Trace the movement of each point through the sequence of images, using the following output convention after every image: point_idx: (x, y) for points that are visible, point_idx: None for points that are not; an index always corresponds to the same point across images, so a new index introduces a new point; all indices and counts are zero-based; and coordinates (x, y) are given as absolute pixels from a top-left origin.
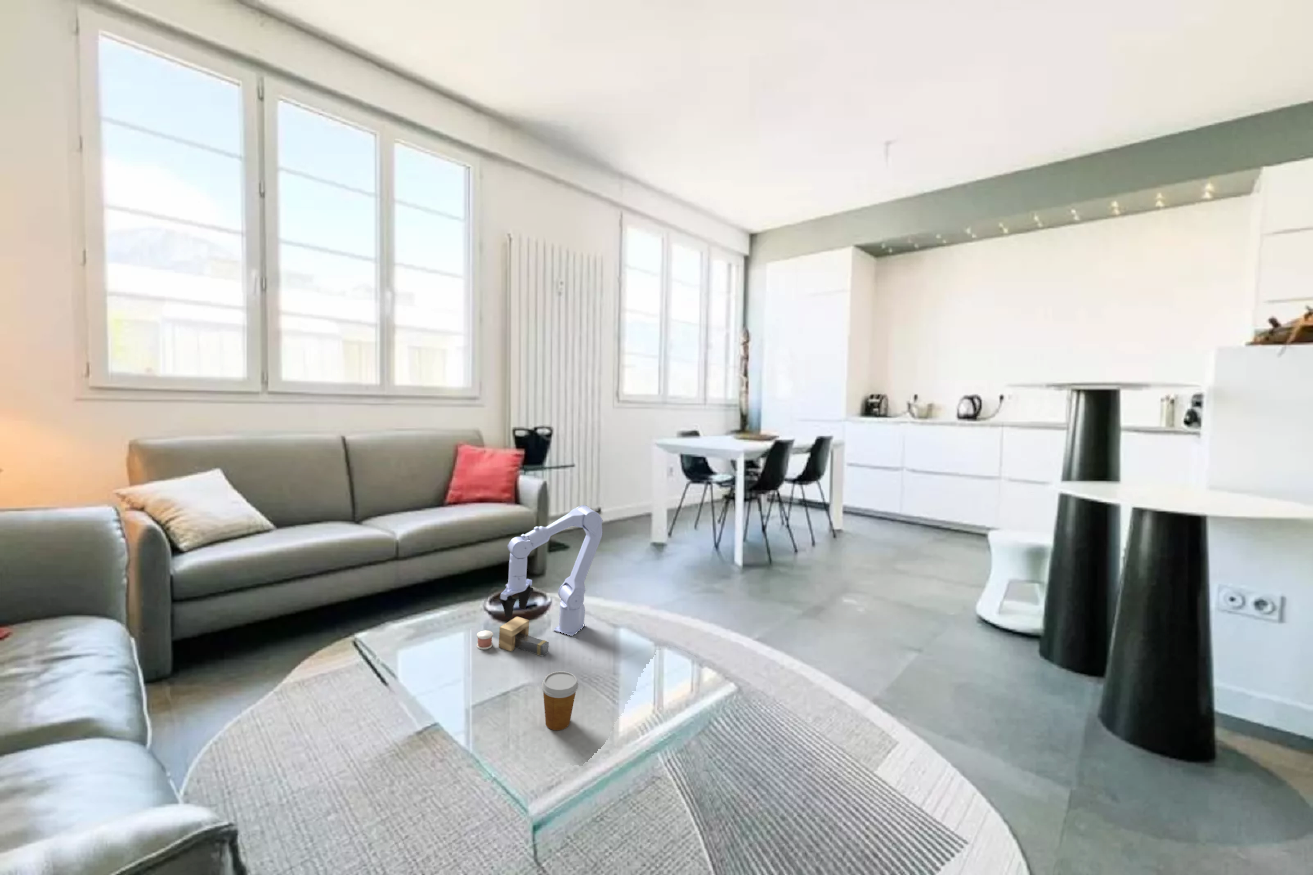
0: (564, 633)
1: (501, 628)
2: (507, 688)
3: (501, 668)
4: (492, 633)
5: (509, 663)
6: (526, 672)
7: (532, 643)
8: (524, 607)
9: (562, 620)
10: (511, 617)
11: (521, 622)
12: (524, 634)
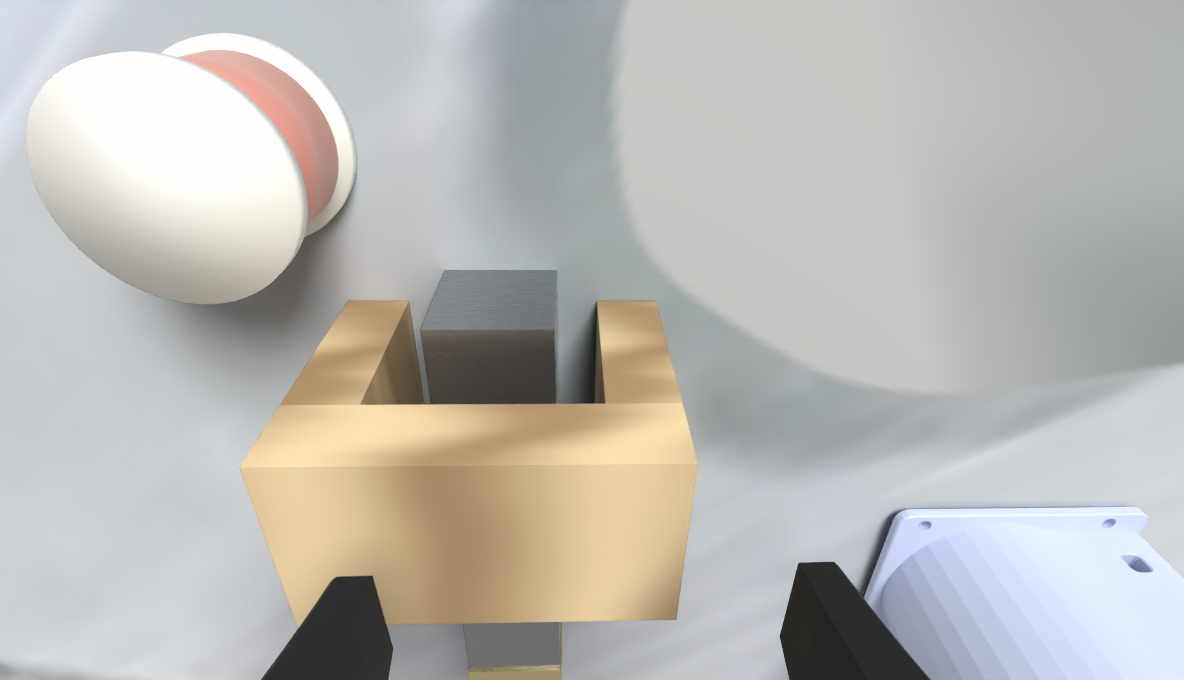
0: (867, 595)
1: (256, 484)
2: (18, 653)
3: (128, 514)
4: (268, 273)
5: (229, 518)
6: (245, 643)
7: (464, 631)
8: (790, 677)
9: (942, 677)
10: (388, 651)
11: (564, 591)
12: None
